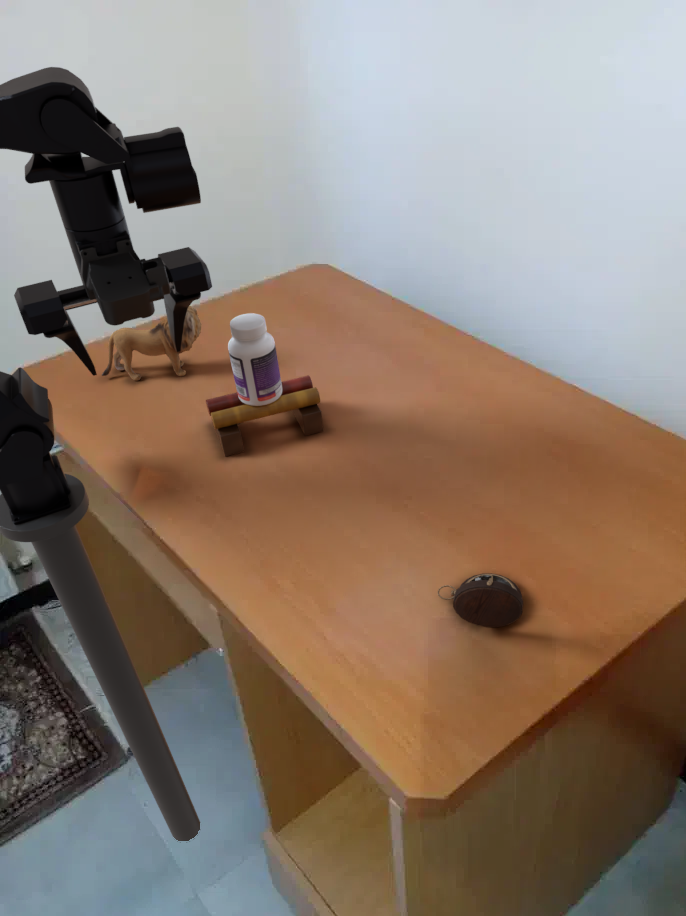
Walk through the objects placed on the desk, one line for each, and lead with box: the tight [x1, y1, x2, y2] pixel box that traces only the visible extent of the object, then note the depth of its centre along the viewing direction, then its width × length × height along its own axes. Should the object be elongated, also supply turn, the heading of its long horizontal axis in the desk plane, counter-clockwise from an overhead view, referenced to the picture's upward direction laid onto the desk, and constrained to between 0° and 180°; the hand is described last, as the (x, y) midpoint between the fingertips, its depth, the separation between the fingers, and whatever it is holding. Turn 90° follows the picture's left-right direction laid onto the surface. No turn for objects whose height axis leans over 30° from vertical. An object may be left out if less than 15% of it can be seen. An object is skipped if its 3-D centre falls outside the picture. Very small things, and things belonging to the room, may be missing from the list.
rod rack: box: [205, 374, 325, 458], centre depth 97 cm, size 13×7×5 cm, turn 111°
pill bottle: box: [227, 312, 282, 406], centre depth 92 cm, size 5×5×10 cm
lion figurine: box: [101, 305, 203, 382], centre depth 107 cm, size 15×5×9 cm, turn 103°
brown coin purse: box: [437, 572, 524, 628], centre depth 73 cm, size 8×8×7 cm
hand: (136, 362), depth 86 cm, fingers open, 9 cm apart
